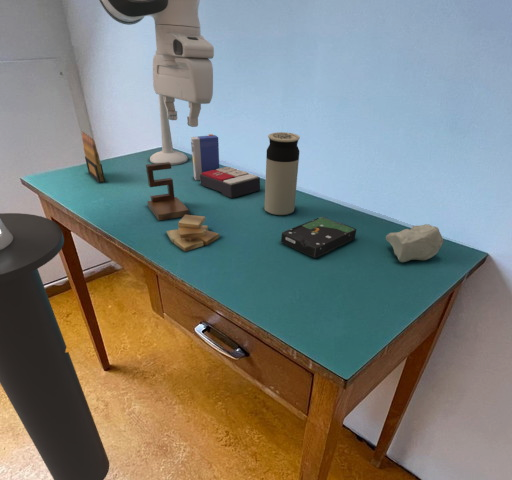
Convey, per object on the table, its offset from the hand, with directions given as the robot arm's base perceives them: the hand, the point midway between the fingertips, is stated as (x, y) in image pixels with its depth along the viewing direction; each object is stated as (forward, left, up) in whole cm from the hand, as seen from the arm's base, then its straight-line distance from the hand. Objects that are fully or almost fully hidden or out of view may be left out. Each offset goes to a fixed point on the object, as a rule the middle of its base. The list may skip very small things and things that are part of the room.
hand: (182, 123), depth 88 cm
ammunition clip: (-16, +39, -21) cm, 47 cm away
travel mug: (+23, -6, -21) cm, 32 cm away
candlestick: (+10, +49, -21) cm, 54 cm away
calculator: (+18, +15, -21) cm, 32 cm away
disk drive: (+22, -26, -21) cm, 40 cm away
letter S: (-4, +5, -21) cm, 22 cm away
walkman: (+15, +26, -21) cm, 37 cm away
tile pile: (-4, -13, -21) cm, 25 cm away
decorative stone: (+37, -39, -21) cm, 58 cm away
